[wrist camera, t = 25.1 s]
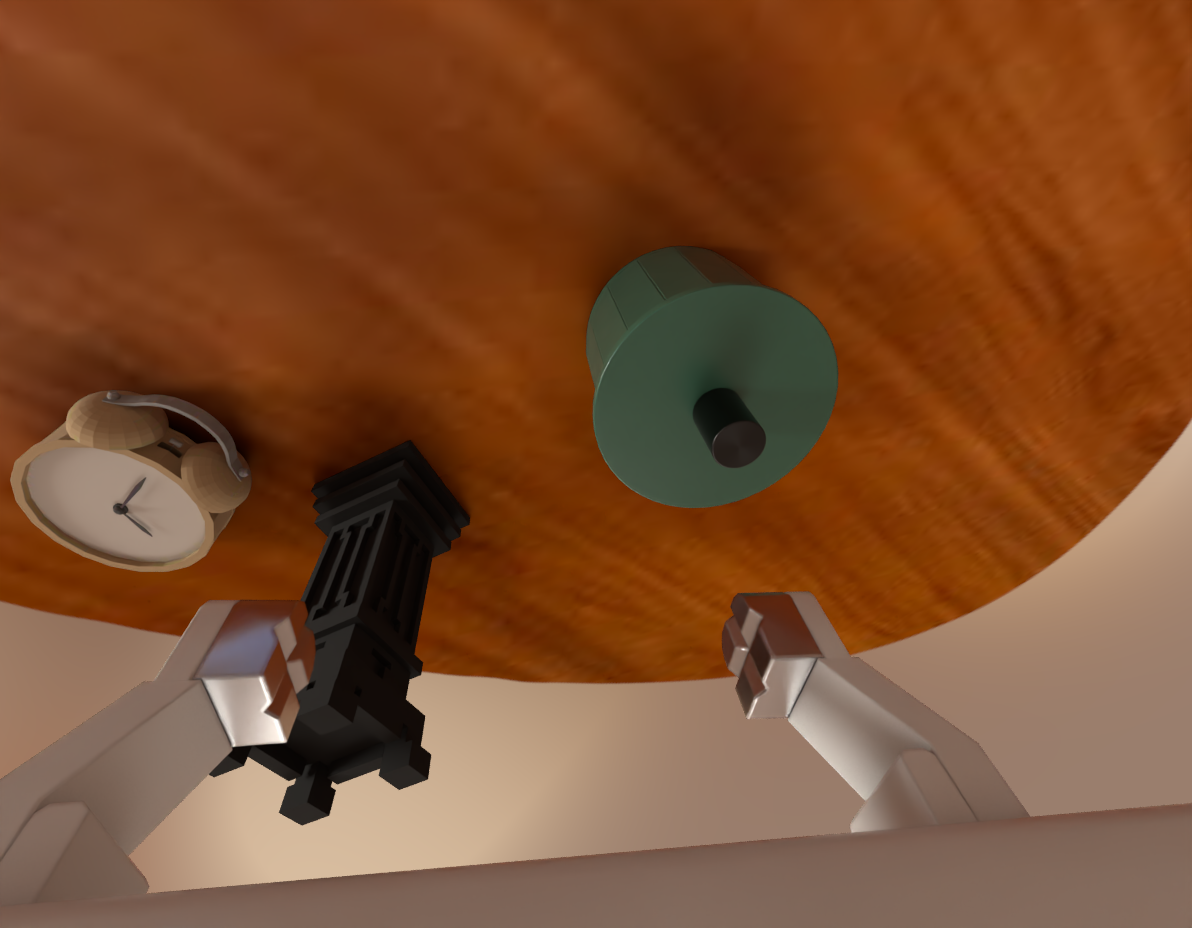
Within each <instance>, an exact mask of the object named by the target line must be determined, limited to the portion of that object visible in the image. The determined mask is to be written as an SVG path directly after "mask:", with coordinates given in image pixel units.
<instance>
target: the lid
mask: <svg viewBox="0 0 1192 928" xmlns="http://www.w3.org/2000/svg"><path fill="white" fill-rule="evenodd" d="M837 388H838V366H837V358H836V354H835V351H834V347H833V343H832V341H831V339H830V337H829V335H828V333H827V331H826V329H825V328H824V326H823V325H822V323H821V322H820V321H819V319H818V318H817V317H816V316H815V315H814V314H813V313H812V312H811V311H810V310H809V309H808V308H807V307H806V306H804V305H803V304H802V303H800V302H799V301H797V300H796V299H794V298H793V297H792V296H790V295H788V294H786V293H784V292H782V291H780V290H778V289H775V288H772V287H769V286H765V285H762V284H756V283H750V282H720V283H712V284H707V285H703V286H699V287H695V288H691V289H689V290H686V291H684V292H681V293H679V294H676V295H674V296H672V297H670V298H668V299H667V300H665V301H663V302H661V303H659V304H657V305H656V306H655V307H653V308H652V309H651V310H649V311H648V312H646V313H645V314H644V315H642V316H641V317H640V318H639V319H638V320H637V321H636V322H635V323H634V324H632V325H631V326H630V327H629V328H628V330H627V331H626V332H625V333H624V334H623V335H622V337H621V338H620V339H619V340H618V341H617V343H616V344H615V346H614V347H613V349H612V350H611V352H610V353H609V355H608V357H607V359H606V361H605V363H604V365H603V367H602V369H601V372H600V375H599V378H598V381H597V384H596V388H595V393H594V398H593V424H594V431H595V435H596V439H597V443H598V447H599V449H600V451H601V453H602V456H603V458H604V460H605V461H606V463H607V465H608V466H609V468H610V469H611V471H612V472H613V473H614V474H615V475H616V476H617V477H618V479H619V480H620V481H622V482H623V483H624V484H625V485H626V486H628V487H629V488H630V489H632V490H633V491H635V492H636V493H638V494H640V495H641V496H644V497H646V498H648V499H650V500H652V501H655V502H659V503H662V504H665V505H670V506H676V507H686V508H702V507H712V506H719V505H724V504H728V503H732V502H735V501H738V500H741V499H744V498H746V497H749V496H751V495H753V494H755V493H758V492H760V491H762V490H764V489H765V488H767V487H769V486H770V485H772V484H774V483H775V482H777V481H778V480H779V479H781V478H782V477H783V476H785V475H786V474H787V473H789V472H790V471H791V470H792V469H793V468H794V467H795V466H796V465H798V464H799V463H800V461H801V460H802V459H803V458H804V457H805V456H806V455H807V454H808V453H809V451H810V450H811V449H812V447H813V446H814V445H815V443H816V442H817V441H818V439H819V437H820V436H821V434H822V432H823V431H824V429H825V427H826V425H827V422H828V420H829V418H830V416H831V413H832V410H833V406H834V403H835V399H836V393H837Z"/></svg>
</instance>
